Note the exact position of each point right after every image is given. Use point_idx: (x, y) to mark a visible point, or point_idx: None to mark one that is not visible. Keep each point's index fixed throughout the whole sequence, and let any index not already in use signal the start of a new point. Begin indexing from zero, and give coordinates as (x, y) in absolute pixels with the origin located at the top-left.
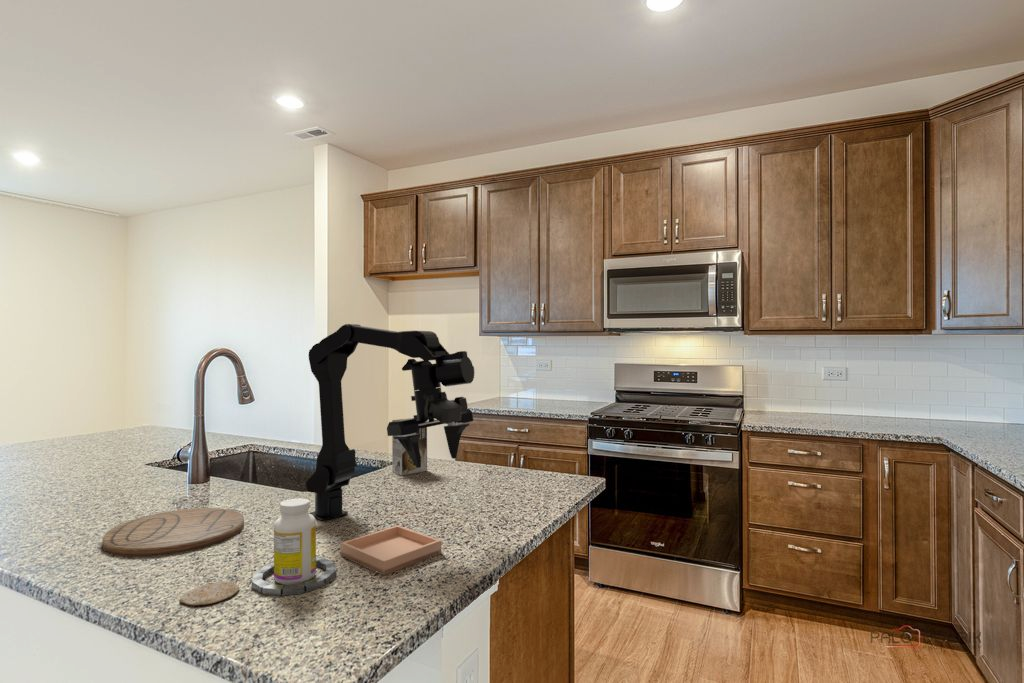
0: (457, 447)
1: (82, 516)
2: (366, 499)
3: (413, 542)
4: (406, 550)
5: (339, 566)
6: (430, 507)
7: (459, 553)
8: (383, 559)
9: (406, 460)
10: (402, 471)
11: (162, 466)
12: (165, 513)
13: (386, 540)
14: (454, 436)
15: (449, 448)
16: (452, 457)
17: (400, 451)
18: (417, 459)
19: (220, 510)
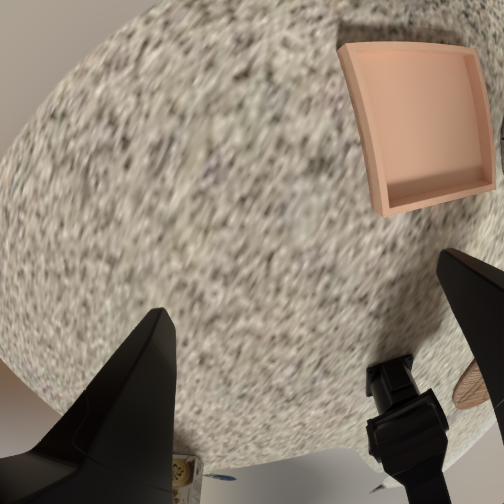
0: (115, 359)
1: (491, 410)
2: (296, 414)
3: (377, 127)
4: (408, 96)
5: (494, 141)
6: (210, 343)
7: (298, 25)
8: (475, 56)
9: (186, 472)
10: (194, 460)
11: (382, 488)
12: (483, 400)
13: (415, 181)
14: (110, 453)
15: (171, 394)
16: (172, 326)
17: (193, 486)
18: (491, 266)
19: (461, 401)
